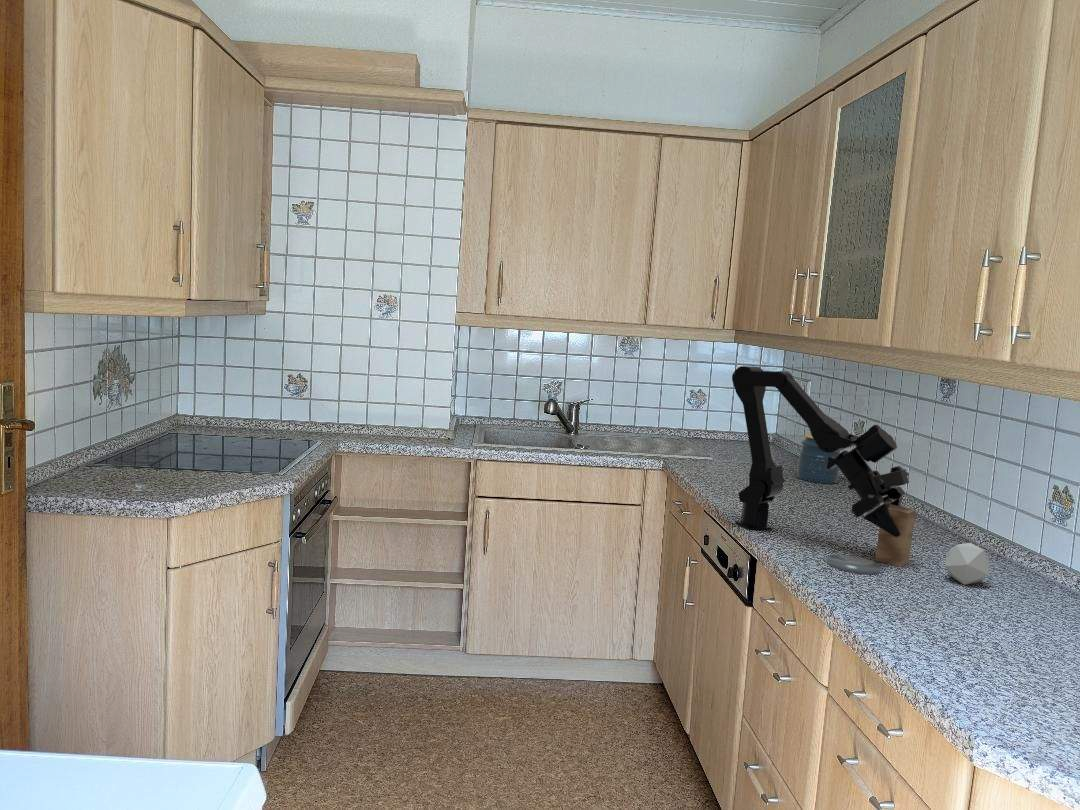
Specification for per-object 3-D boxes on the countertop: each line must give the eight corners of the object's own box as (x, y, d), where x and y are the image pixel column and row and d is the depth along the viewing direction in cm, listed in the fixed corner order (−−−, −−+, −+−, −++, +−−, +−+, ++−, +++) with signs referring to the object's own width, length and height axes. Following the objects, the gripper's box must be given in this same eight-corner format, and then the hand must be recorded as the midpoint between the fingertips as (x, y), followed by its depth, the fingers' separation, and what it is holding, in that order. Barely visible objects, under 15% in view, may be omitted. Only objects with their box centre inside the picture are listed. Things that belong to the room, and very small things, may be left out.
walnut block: (875, 560, 192) (882, 507, 190) (883, 556, 196) (890, 504, 194) (900, 567, 188) (908, 512, 187) (908, 562, 192) (916, 509, 191)
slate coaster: (815, 558, 189) (815, 555, 189) (856, 557, 192) (857, 554, 192) (848, 575, 178) (849, 571, 178) (892, 574, 182) (892, 570, 182)
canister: (840, 486, 278) (848, 431, 276) (798, 481, 280) (805, 426, 278) (834, 478, 291) (841, 426, 289) (794, 473, 293) (801, 422, 291)
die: (958, 576, 188) (937, 539, 186) (1000, 566, 183) (978, 528, 181) (955, 598, 181) (934, 560, 180) (998, 588, 176) (976, 550, 175)
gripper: (873, 457, 184) (920, 520, 179) (901, 451, 199) (945, 508, 193) (832, 486, 190) (876, 548, 185) (862, 478, 205) (904, 535, 199)
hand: (902, 534), depth 190 cm, fingers closed on walnut block, 5 cm apart
